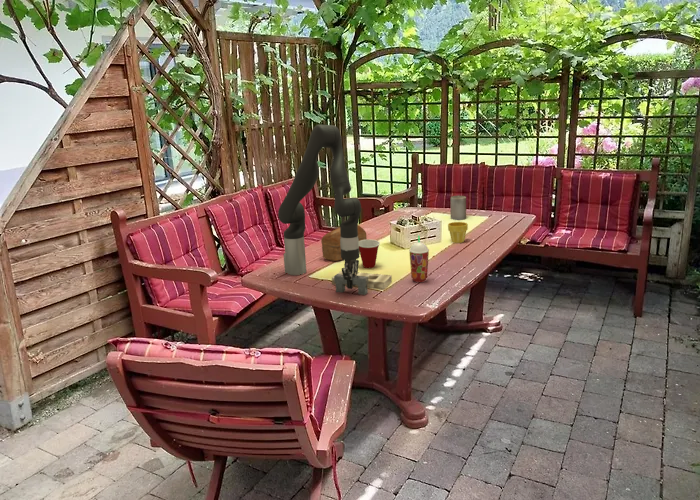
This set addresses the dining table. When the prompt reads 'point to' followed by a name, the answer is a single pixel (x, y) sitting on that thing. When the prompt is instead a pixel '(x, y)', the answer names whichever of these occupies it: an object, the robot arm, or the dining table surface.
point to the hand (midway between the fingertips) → (351, 286)
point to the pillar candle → (458, 207)
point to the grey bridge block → (356, 280)
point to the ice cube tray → (373, 280)
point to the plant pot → (457, 231)
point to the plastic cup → (368, 252)
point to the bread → (336, 243)
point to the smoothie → (419, 261)
